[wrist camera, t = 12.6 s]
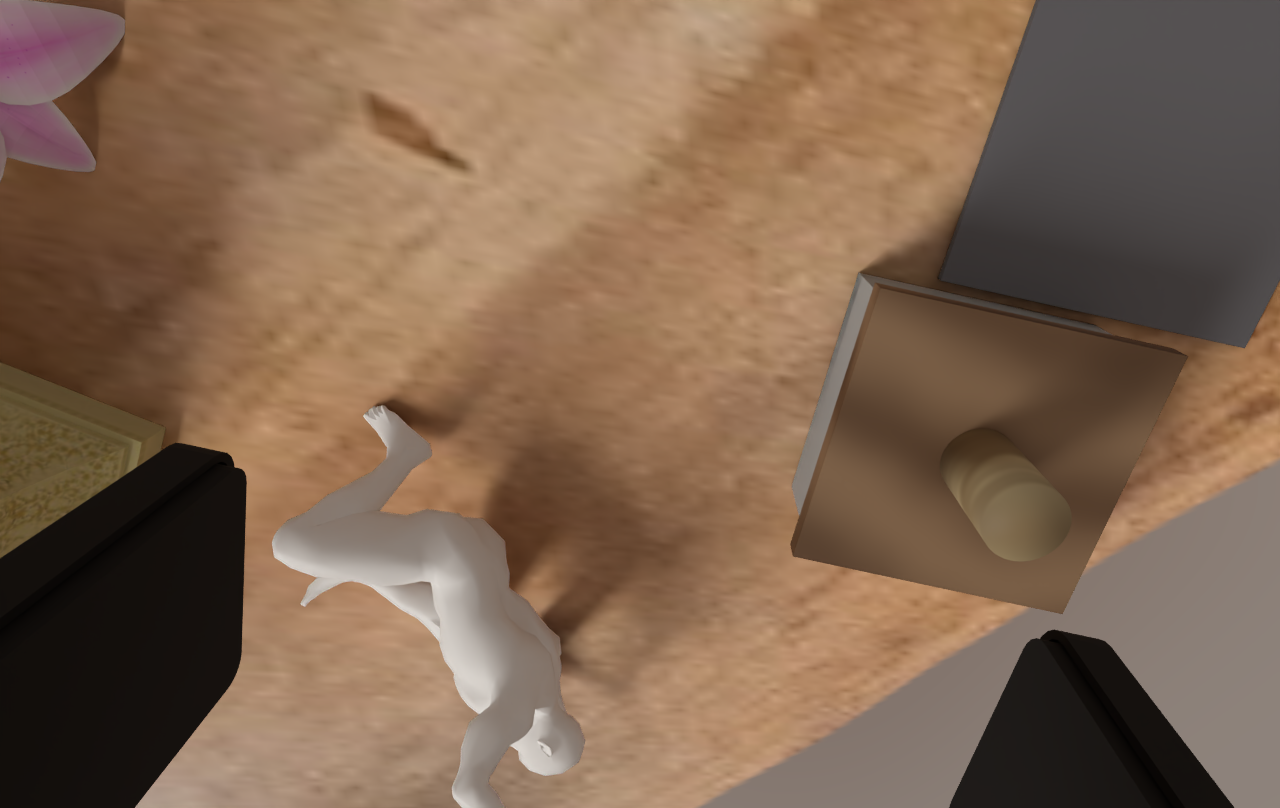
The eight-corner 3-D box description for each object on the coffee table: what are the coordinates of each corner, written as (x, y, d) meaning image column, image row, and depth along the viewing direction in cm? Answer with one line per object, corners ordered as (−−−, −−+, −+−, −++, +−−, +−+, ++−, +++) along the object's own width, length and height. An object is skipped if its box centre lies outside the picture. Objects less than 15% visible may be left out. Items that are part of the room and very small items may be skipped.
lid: (874, 282, 31) (915, 323, 25) (1172, 348, 31) (1278, 403, 26) (790, 544, 35) (808, 628, 30) (1052, 600, 36) (1120, 694, 30)
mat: (1062, -74, 31) (1066, -76, 30) (1411, 7, 31) (1419, 6, 31) (938, 278, 36) (940, 280, 35) (1239, 345, 36) (1244, 348, 36)
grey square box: (858, 272, 36) (883, 298, 31) (1095, 325, 36) (1155, 358, 31) (791, 486, 40) (805, 538, 35) (1005, 532, 40) (1046, 589, 35)
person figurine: (151, 682, 33) (529, 907, 32) (275, 412, 31) (679, 639, 30) (315, 584, 46) (589, 742, 45) (410, 390, 44) (696, 547, 43)
